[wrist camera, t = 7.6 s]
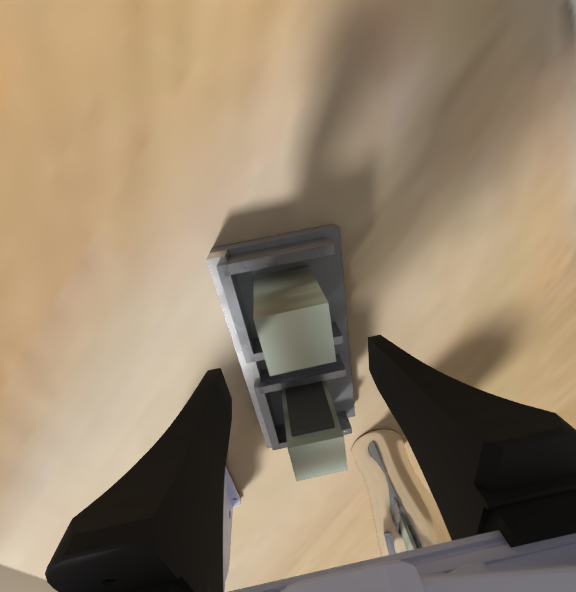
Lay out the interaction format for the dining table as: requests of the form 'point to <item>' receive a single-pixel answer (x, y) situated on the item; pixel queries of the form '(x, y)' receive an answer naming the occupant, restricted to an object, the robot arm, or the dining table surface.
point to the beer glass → (397, 495)
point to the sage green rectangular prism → (292, 320)
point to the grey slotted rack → (301, 383)
